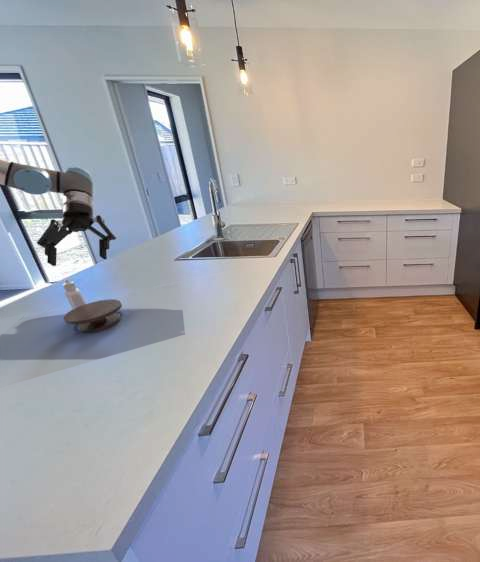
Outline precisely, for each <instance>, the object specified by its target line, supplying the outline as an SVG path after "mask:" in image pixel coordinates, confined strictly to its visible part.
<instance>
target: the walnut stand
mask: <svg viewBox="0 0 480 562" xmlns="http://www.w3.org/2000/svg"><path fill="white" fill-rule="evenodd" d="M122 308H123V304H122V302H121V301H120V300H119V299H112V298H110V299H102V300H96V301H92V302H89V303H86V304H85V305H82V306H80V307H78V308H75V309H71V310H70V311H68V312H67V313H66V314H65V315H64V316H63V320H64V322H65V323H66V324H68V325H76V329H77V331H78V333H80V334H92V333H97V332H98V333H99V332H102V331H104V330H107V329H109V328H112V327H113V326H115V325H116V324H118V323H119V322H120V321H121V320H122V317H121V315H120V313H118V312H119V311H120V310H121V309H122Z"/></svg>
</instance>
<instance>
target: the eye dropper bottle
mask: <svg viewBox="0 0 480 562" xmlns="http://www.w3.org/2000/svg"><path fill="white" fill-rule="evenodd" d="M62 287H63V288H64V290H65V292H64V295H65V298H66V299H67V301H68V303H69V305H70V307H71V310H73V309H75V308H78V307H80V306H82V305H85V304H87V302H86V301H85V298H84V297H83V294H82V292H81V290H80V289H78V288H77V287H76V285H75V282H74V281H70V280H69V279H68V278H65V279H64V283H63V284H62Z"/></svg>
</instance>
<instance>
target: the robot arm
mask: <svg viewBox="0 0 480 562" xmlns="http://www.w3.org/2000/svg"><path fill="white" fill-rule="evenodd" d="M93 183H94V182H93V176H92V175H91V173H89V171H87V170H85V169H84V168H80V167H76V166H74V167H66V168H65V169H64V170H63V171H60V170H59V171H58V170H52V169H48V168H44V167H38V166H33V165H30V164H21V163H18V162H15V161H14V162H13V161H10V160H8V159H4V158H1V157H0V185H1V186H6V187H8V188H12V189H16V190H19V191H22V192H24V193H26V194H30V195H34V196H35V195H36V196H38V195H39V196H40V195H43V194H46V193H48V192H50V193H55V194H62V195H63V197H62V198H63V199H62V201H63V202H62V203H63V204H62V205H63V206H62V217H63V218H62V220H56V219H54V218H53V219H50V223H49V225H48V227H47V228H46V229H45V231H44V232H43V233H42V235H41V236H40V238H39V239H38V240H37V241H36V244H37V245H38V246H40V247H41V248H43V249H44V255H45V256H46V257H47V261H46V262H47V264H49V265H50V266H52V267H56V266H57V253H58V251H57V247H56V246H57V245H58V244H59V243H61V241H63V240H64V239H65V238H66V237H67V236H68V235H72V233H73V232H74V233H78V232H86V231H88V230H89V231H90V232H91V233H92V234H95V236H97V237H99V239H98V244H99V245H98V247H99V248H98V249H99V257H100V258H101V259H103V260H107V257H108V256H107V251H108V250H110V242H111V241H114V240H116V239H117V237H116V236H115V235H114V233H113V232H112V231H111V230H110V229H109V227H108V226H107V224H106V223H105V219H104V218H103V217H102V216H101V215H100V214H99V215H96V216H95V217H94V201H93V200H94V199H93V198H94V196H93V195H94V194H93V193H94V192H93V191H94V190H93V189H94V184H93ZM94 223H96V224H97V225H99V226H100V227H101V228H102V230H103V231H104V232H105V234H103V233H102V232H100V231H99V230H98V229H96V228H95V227H94V226H93V224H94Z"/></svg>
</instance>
